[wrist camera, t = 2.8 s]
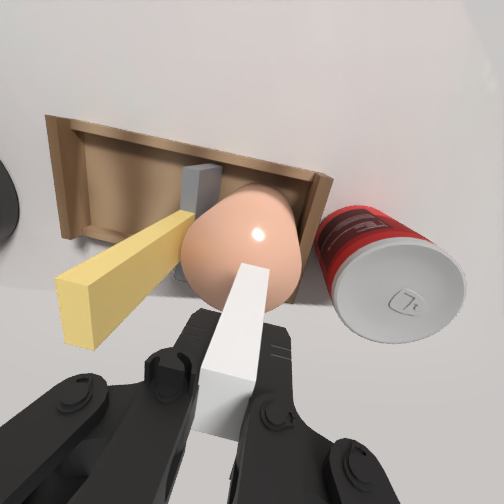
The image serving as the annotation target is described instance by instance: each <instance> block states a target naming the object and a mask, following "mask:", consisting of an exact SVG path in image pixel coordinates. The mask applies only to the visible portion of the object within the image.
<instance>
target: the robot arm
mask: <svg viewBox="0 0 504 504" xmlns="http://www.w3.org/2000/svg"><path fill="white" fill-rule="evenodd" d="M17 220H18V201H17V196H16V192H15V189H14V186H13V183H12V181H11V179H10V177H9V175H8V173H7V171H6V169H5V167H4V166H3V164H2V163H1V161H0V241H3V240H4V239H6V238H7V237H8V236H9V235H10V234H11V233H12V232H13V230H14V228H15V226H16V224H17ZM269 271H270V269H266V268H262V267H258V266H254V265H249V264H245V263H241V265H240V268H239V270H238V273H237V275H236V278H235V281H234V283H233V286H232V288H231V291H230V294H229V296H228V299H227V301H226V304H225V306H224V309H223V312H222V313H218V312H215V311H211V310H206V309H202V308H200V309H199V310H198V311H196V312H195V313H193V314H192V315H191V317H190V318H189V320H188V322H187V324H186V326H185V327H184V329H183V331H182V333H181V334H180V336H179V338H178V339H177V341H176V343H175V345H174V346H173V347H170V348H165V349H161V350H159V351H157V352H156V353H153V354H152V355H151V356H150V357H149V358H148V359H147V360H146V361H145V374H144V375H145V376H144V378H145V379H144V381H142V382H139V383H135V384H128V385H112V386H107V382H106V381H105V380H104V379H103V378H102V377H101V376H99V375H96V374H93V373H88V374H79V375H76V376H72V377H70V378H67V379H65V380H64V381H62V382H61V383H59V384H57V385H56V386H54V387H53V388H52V389H50V390H49V391H48V392H46V393H45V394H44V395H42V396H41V397H40V398H38V399H37V400H36V401H34V402H33V403H32V404H30V405H29V406H28V407H26V408H25V409H24V410H22V411H21V412H20V413H18V414H17V415H16V416H14V417H13V418H12V419H10V420H9V421H8V422H7V423H5V424H4V425H2V426H1V427H0V504H168V501H169V498H170V495H171V492H172V489H173V486H174V483H175V480H176V477H177V474H178V471H179V468H180V465H181V462H182V459H183V456H184V453H185V447H186V441H187V438H188V435H189V432H190V429H192V430H195V431H199V432H203V433H207V434H211V435H214V436H218V437H222V438H226V439H230V440H233V441H237V442H238V441H239V443H238V448H237V455H236V458H235V461H234V465H233V468H232V471H231V475H230V478H229V479H230V480H231V482H230V488H229V495H228V501H227V504H400V502H399V500H398V498H397V496H396V494H395V492H394V490H393V488H392V486H391V484H390V482H389V479H388V477H387V475H386V473H385V471H384V469H383V468H382V466H381V465H380V463H379V461H378V460H377V458H376V457H375V456H374V455H373V454H372V453H371V452H370V451H369V450H368V449H367V448H366V447H365V446H364V445H362V444H360V443H358V442H357V441H355V440H352V439H347V438H343V439H339V440H337V441H336V442H335V443H332V442H331V441H329V440H328V439H326V438H325V437H323V436H321V435H320V434H318V433H316V432H315V431H314V430H312V429H311V428H310V427H308V426H307V425H306V424H305V423H304V421H303V420H302V419H301V418H300V416H299V415H298V413H297V412H296V409H295V406H294V402H293V390H292V362H291V338H290V336H289V334H288V332H287V330H286V328H284V327H280V326H276V325H272V324H267V323H263V319H264V312H265V303H266V295H267V287H268V279H269ZM191 426H192V428H191Z"/></svg>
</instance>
